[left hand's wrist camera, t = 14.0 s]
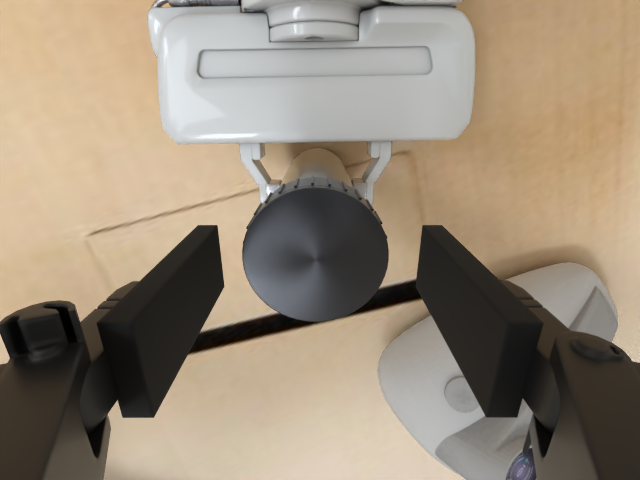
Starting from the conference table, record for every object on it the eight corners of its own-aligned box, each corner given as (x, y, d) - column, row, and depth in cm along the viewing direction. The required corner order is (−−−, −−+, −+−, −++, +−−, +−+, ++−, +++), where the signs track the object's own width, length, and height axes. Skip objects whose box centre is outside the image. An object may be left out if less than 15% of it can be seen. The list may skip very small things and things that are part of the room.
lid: (337, 316, 18) (340, 344, 15) (229, 262, 16) (216, 284, 14) (406, 217, 16) (420, 233, 14) (289, 149, 15) (284, 155, 13)
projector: (546, 424, 42) (657, 575, 28) (361, 415, 41) (383, 567, 28) (613, 259, 34) (811, 359, 20) (386, 246, 33) (434, 339, 20)
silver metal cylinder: (327, 215, 33) (337, 328, 16) (277, 188, 32) (231, 276, 15) (357, 166, 31) (403, 233, 14) (305, 136, 30) (290, 168, 13)
